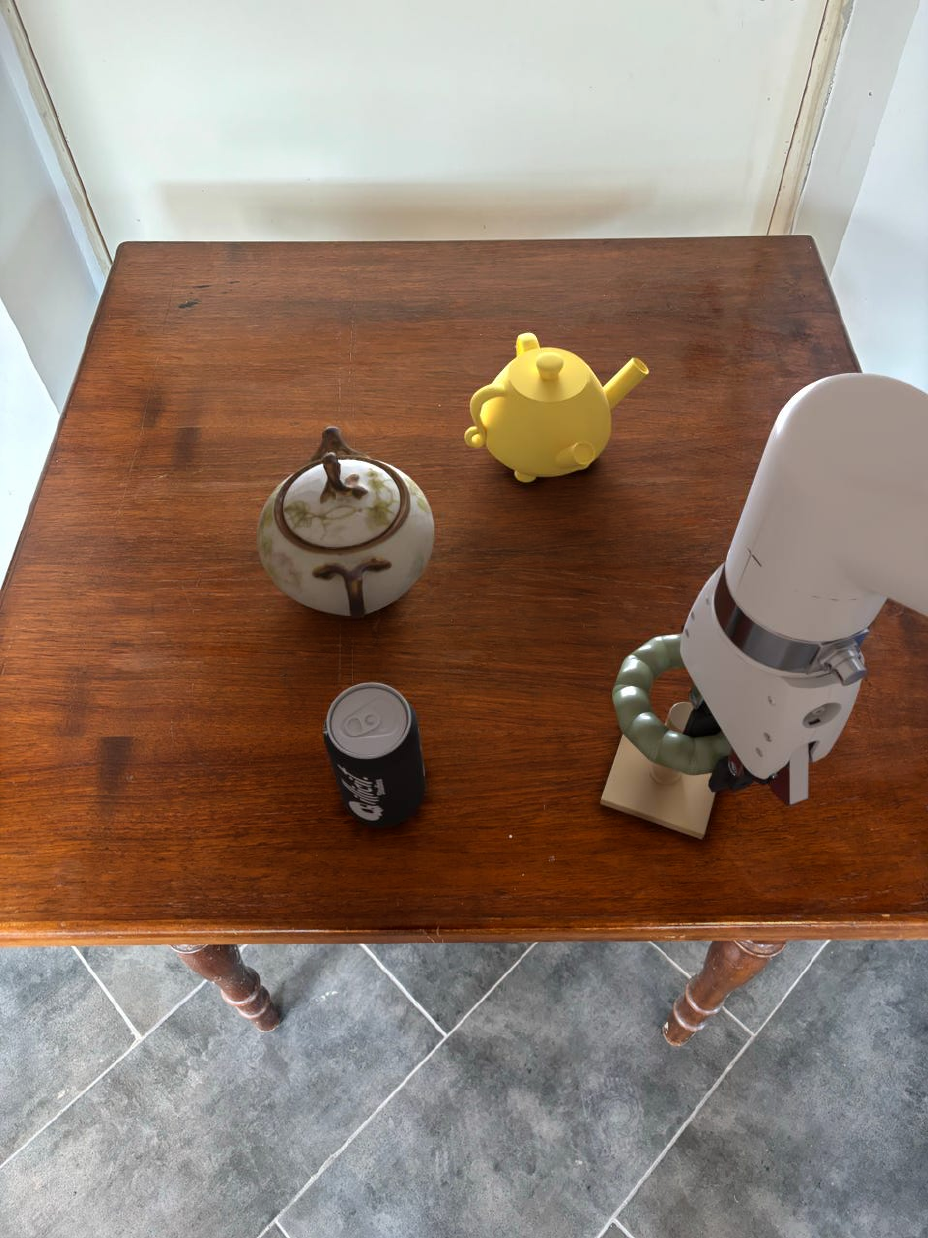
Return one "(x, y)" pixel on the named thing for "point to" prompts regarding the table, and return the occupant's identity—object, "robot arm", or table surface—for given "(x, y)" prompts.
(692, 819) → the square base peg stand
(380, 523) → the sugar bowl
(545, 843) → the table surface
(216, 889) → the table surface
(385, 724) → the beverage can
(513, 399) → the teapot
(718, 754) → the ring
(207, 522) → the table surface
